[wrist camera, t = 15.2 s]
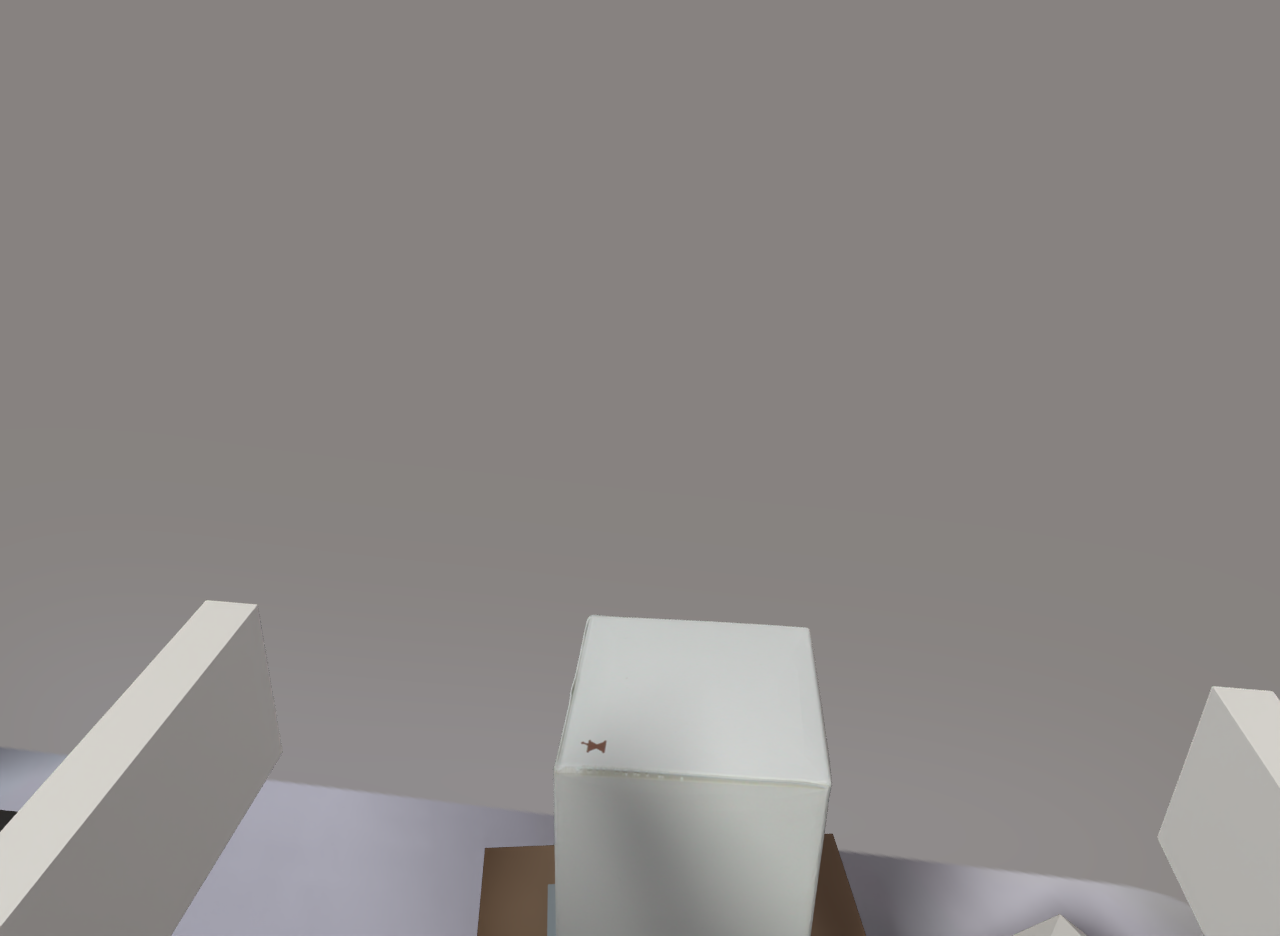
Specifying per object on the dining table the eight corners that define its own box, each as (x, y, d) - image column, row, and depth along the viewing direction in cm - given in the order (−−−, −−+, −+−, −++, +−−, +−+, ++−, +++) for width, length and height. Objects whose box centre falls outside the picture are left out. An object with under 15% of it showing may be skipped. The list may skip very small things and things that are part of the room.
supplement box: (793, 1108, 30) (838, 790, 24) (551, 1083, 30) (543, 766, 25) (783, 906, 36) (816, 622, 31) (585, 889, 37) (583, 606, 32)
